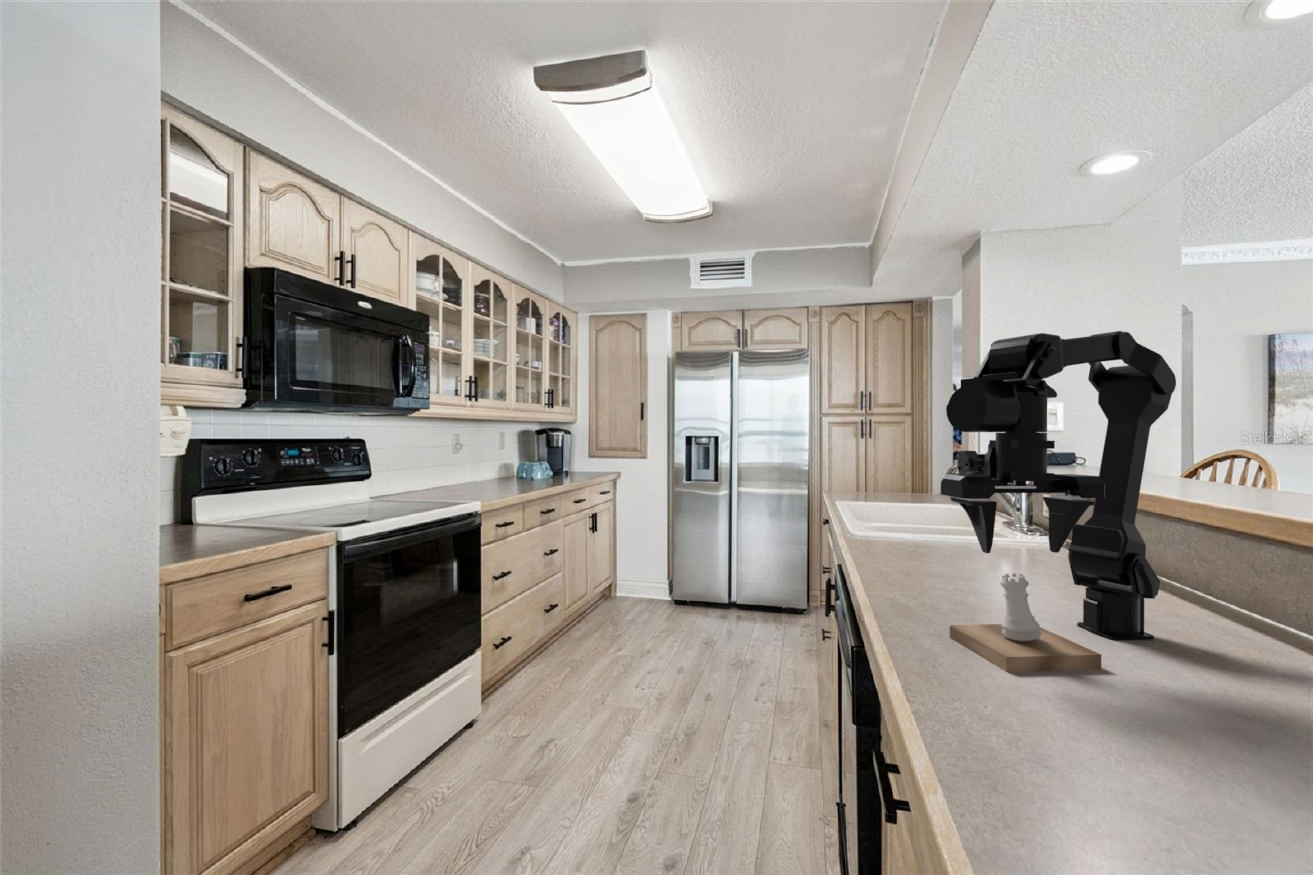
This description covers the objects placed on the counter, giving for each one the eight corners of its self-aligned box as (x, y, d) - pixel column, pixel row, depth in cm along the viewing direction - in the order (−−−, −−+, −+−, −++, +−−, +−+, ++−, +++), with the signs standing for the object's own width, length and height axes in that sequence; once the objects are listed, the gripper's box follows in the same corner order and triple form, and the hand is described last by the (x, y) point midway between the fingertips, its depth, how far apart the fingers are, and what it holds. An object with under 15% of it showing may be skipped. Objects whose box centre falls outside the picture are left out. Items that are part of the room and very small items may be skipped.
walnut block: (1031, 641, 83) (1031, 623, 83) (1101, 675, 71) (1101, 654, 71) (949, 643, 82) (949, 625, 82) (1006, 677, 71) (1006, 657, 71)
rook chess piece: (1028, 627, 79) (1020, 569, 79) (1050, 640, 75) (1041, 578, 74) (995, 632, 79) (986, 574, 79) (1014, 645, 75) (1005, 583, 74)
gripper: (1045, 433, 85) (1045, 541, 85) (920, 432, 84) (919, 542, 84) (1108, 432, 74) (1108, 556, 74) (965, 432, 73) (964, 558, 73)
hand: (1020, 552), depth 77 cm, fingers open, 9 cm apart
